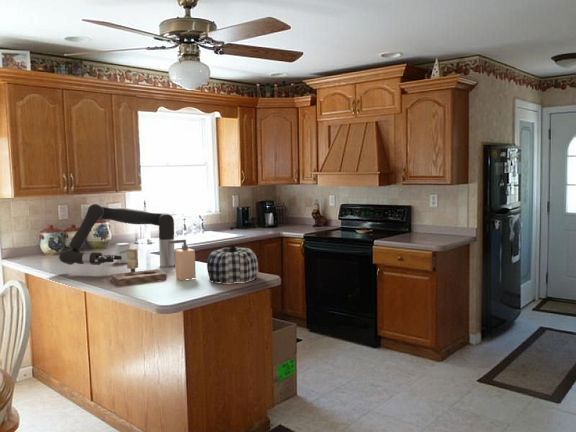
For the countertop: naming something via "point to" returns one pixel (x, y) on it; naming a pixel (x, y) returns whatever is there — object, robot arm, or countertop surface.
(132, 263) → the birch peg
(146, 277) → the walnut keyhole board
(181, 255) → the soap dispenser
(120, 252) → the supplement box
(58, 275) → the countertop surface
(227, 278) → the decorative pumpkin
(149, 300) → the countertop surface
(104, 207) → the robot arm
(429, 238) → the countertop surface
